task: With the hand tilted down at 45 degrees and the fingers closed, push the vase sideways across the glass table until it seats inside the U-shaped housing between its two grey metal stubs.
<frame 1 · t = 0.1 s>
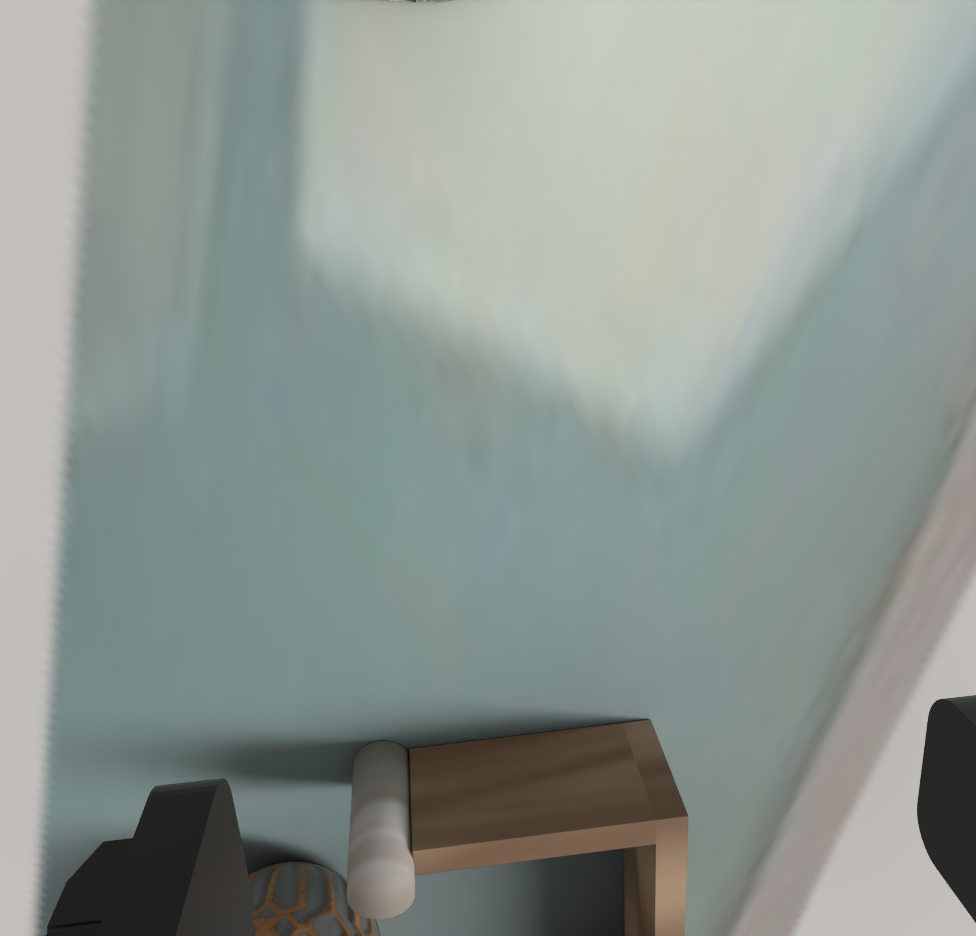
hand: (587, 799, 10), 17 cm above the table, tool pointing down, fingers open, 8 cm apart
vase: (294, 895, 34), on the table
housing: (532, 869, 35), on the table
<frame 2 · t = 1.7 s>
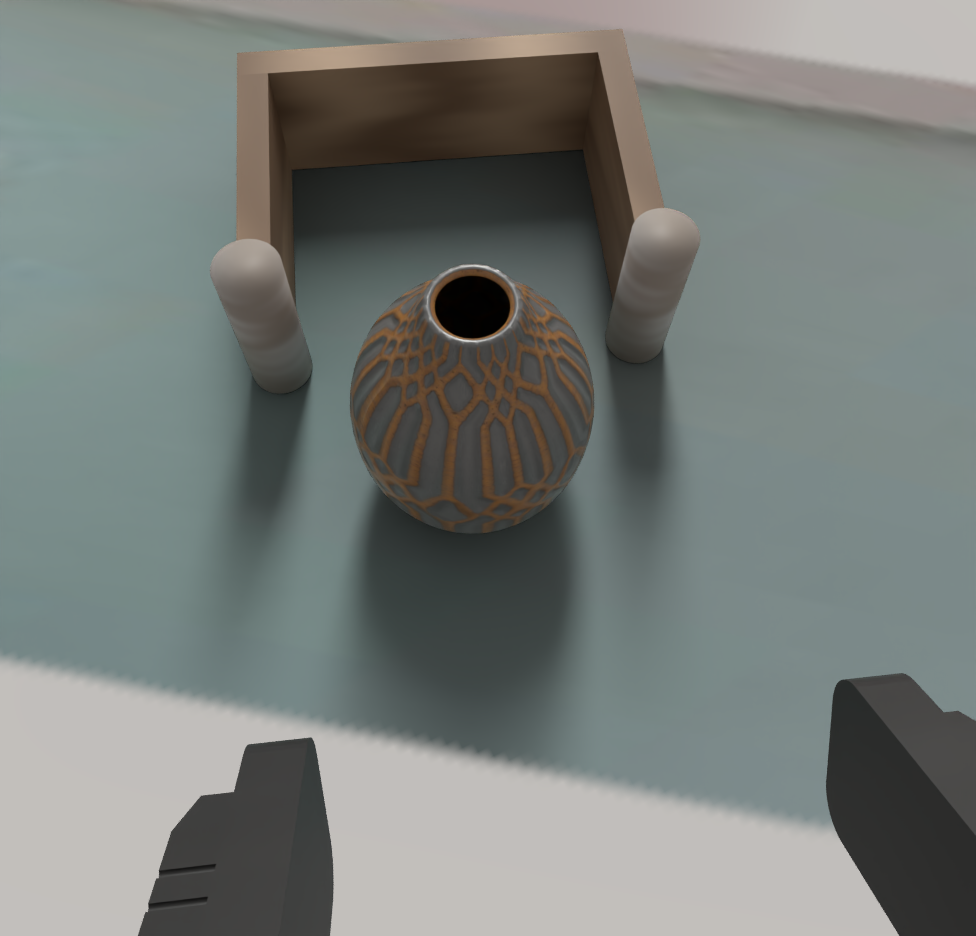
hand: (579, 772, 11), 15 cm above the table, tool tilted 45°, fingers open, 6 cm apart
vase: (472, 462, 30), on the table
housing: (447, 234, 33), on the table
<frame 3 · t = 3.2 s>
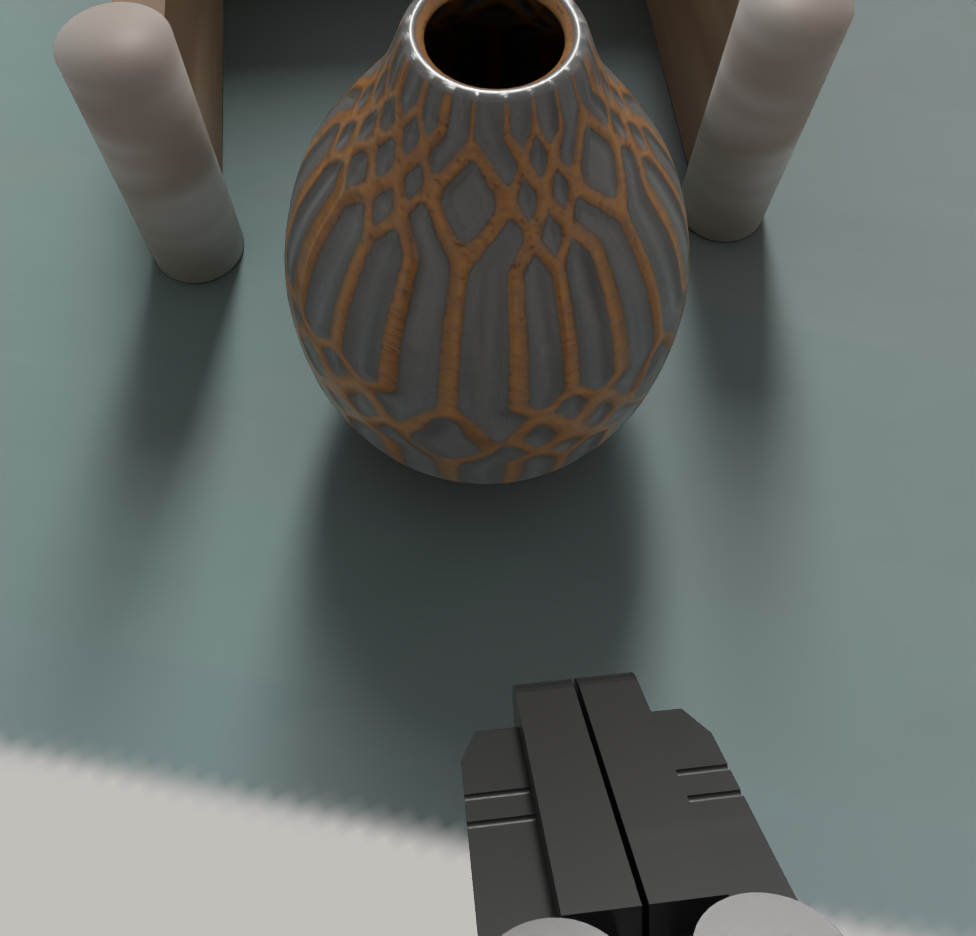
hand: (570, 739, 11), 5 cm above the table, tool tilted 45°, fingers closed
vase: (483, 383, 20), on the table
housing: (444, 66, 23), on the table
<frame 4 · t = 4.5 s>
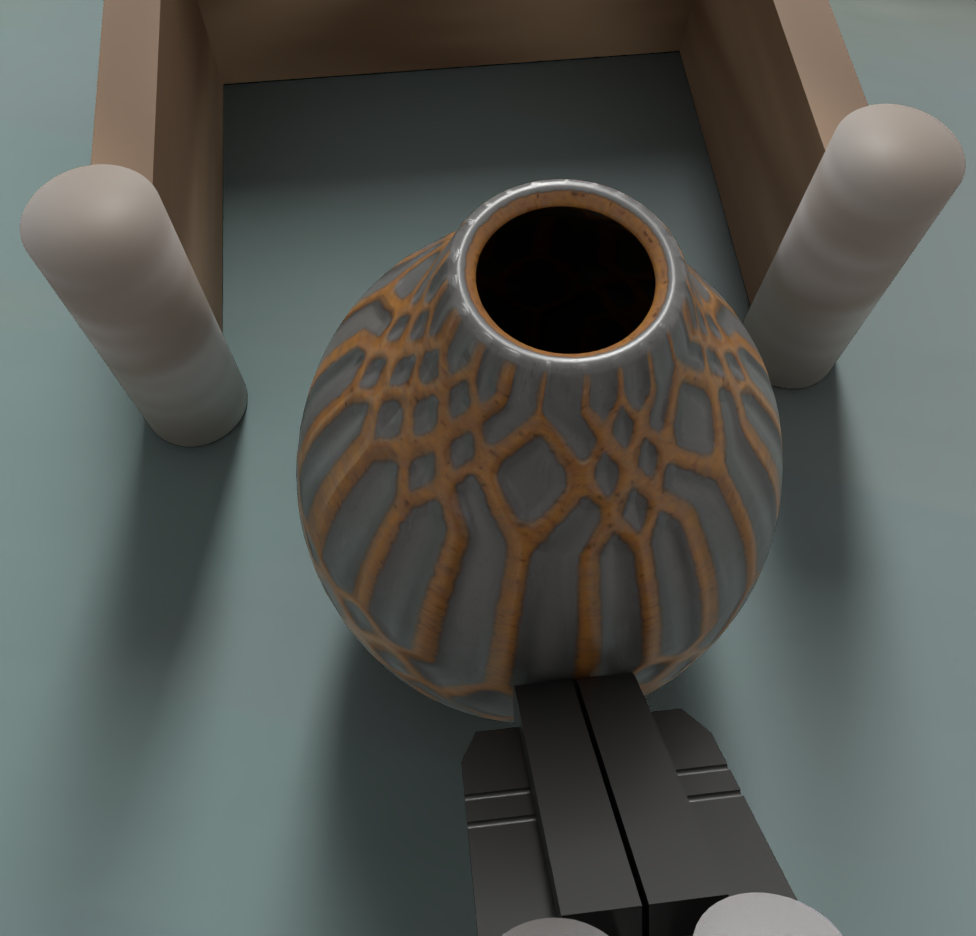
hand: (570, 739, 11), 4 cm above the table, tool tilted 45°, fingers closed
vase: (522, 561, 17), on the table, touching gripper
housing: (470, 180, 21), on the table
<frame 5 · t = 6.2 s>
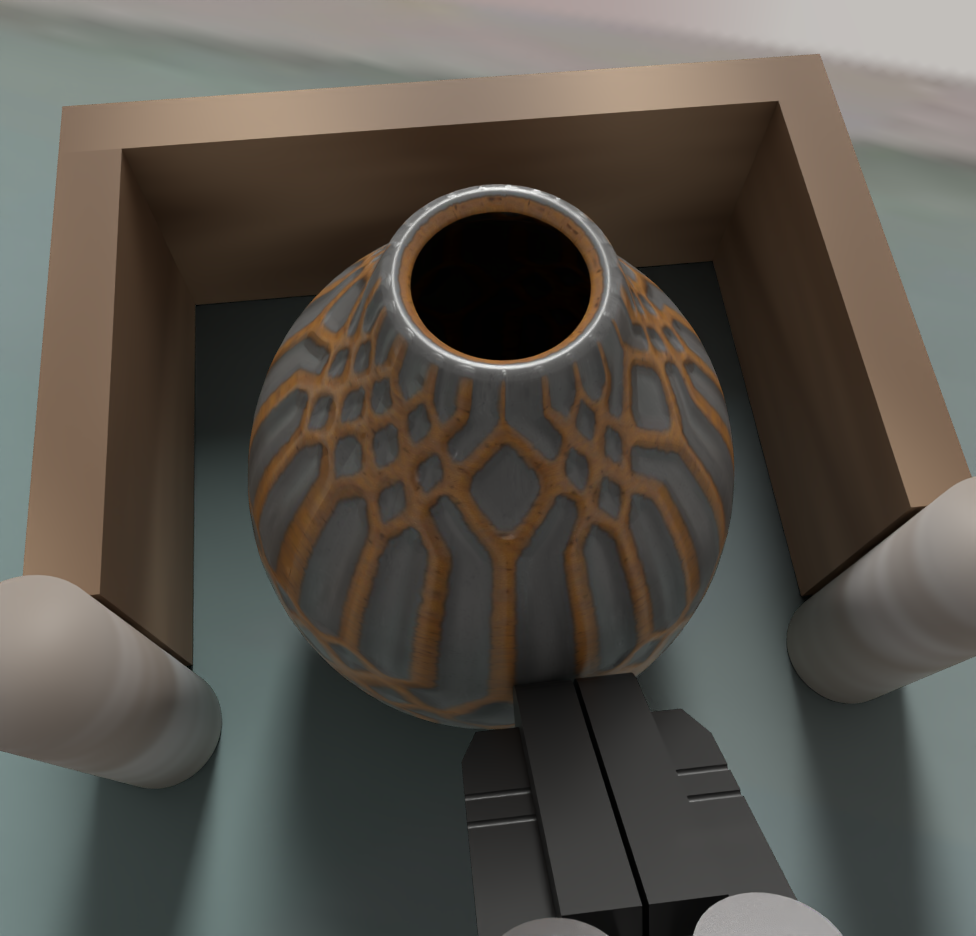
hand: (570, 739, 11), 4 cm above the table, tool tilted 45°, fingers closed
vase: (486, 565, 17), on the table, touching gripper
housing: (478, 430, 18), on the table
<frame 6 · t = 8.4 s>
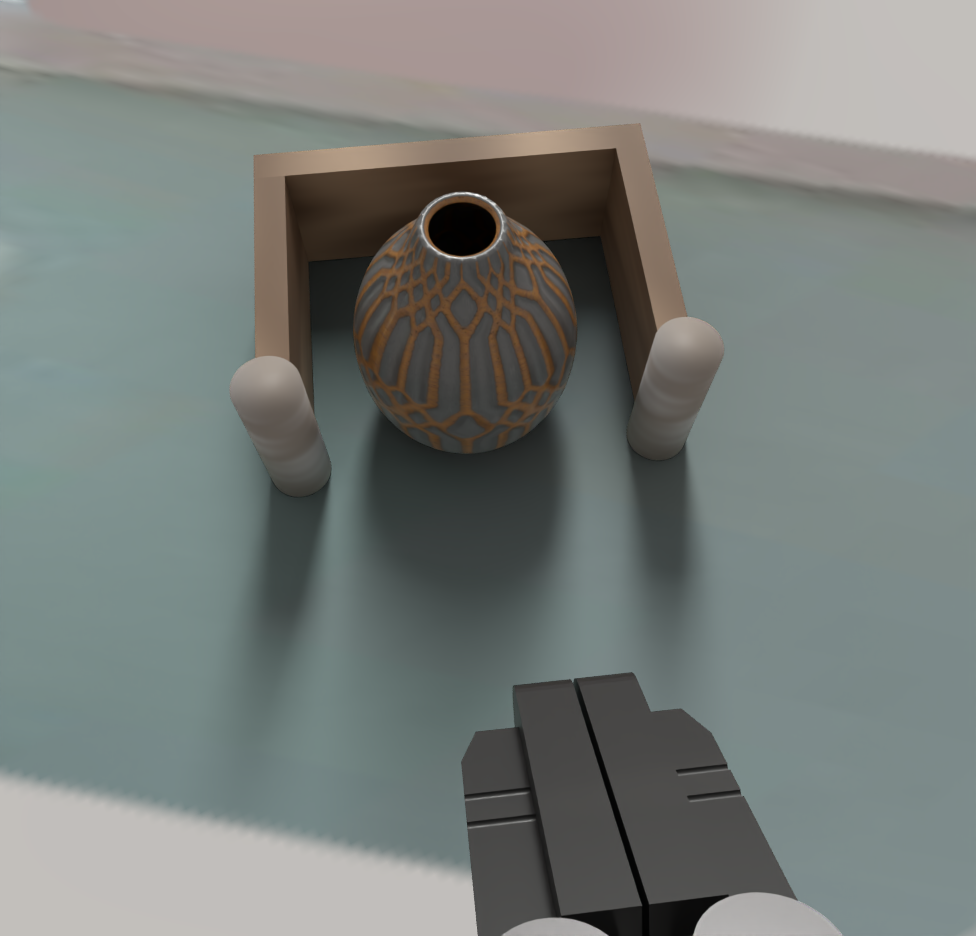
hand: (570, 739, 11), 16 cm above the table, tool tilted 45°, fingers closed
vase: (467, 395, 32), on the table
housing: (465, 326, 33), on the table
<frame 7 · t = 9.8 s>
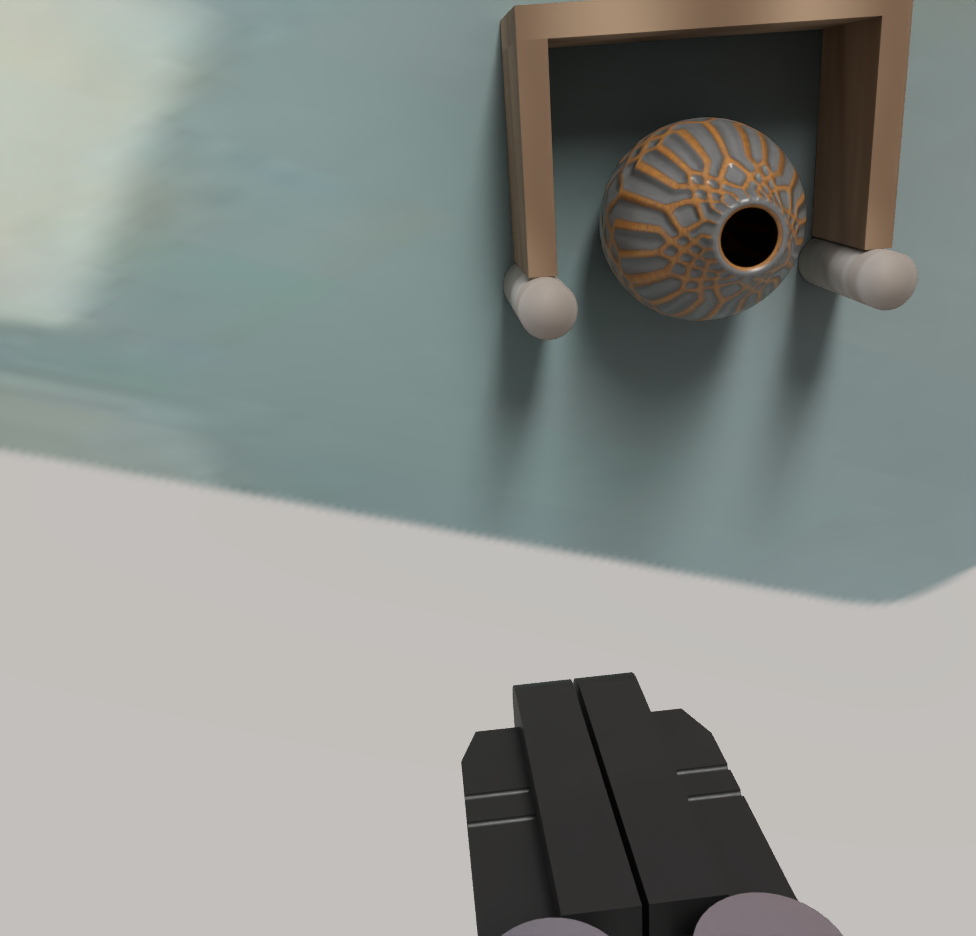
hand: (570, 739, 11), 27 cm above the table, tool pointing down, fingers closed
vase: (670, 211, 36), on the table
housing: (677, 140, 35), on the table
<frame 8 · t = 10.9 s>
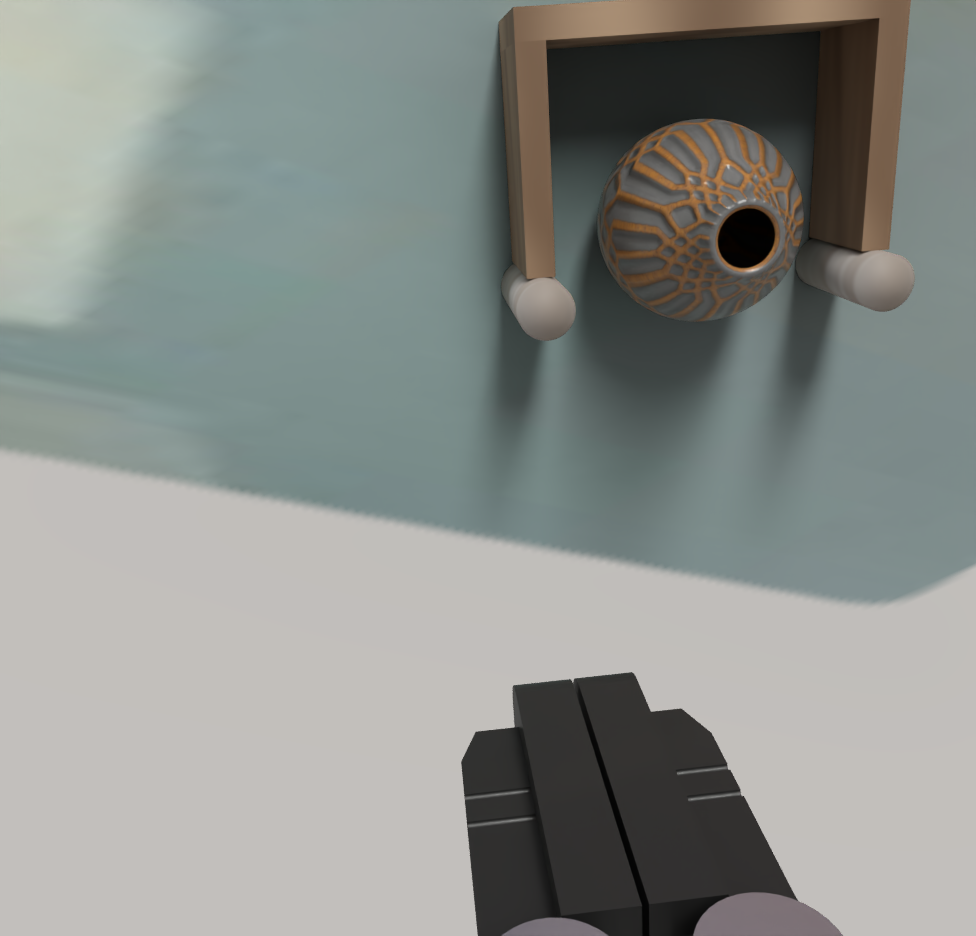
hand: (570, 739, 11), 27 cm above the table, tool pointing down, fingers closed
vase: (668, 212, 36), on the table
housing: (675, 141, 35), on the table
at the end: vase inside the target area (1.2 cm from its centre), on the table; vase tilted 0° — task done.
